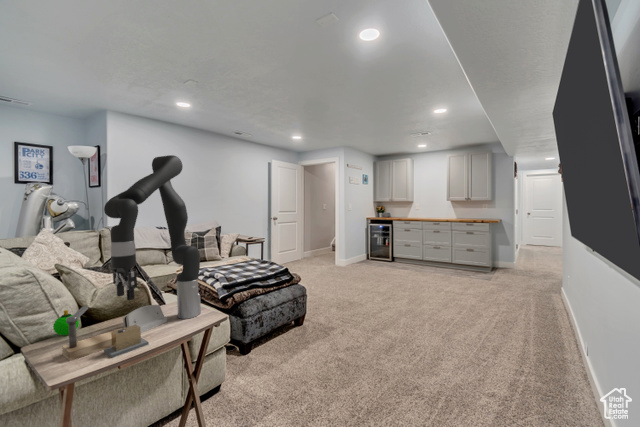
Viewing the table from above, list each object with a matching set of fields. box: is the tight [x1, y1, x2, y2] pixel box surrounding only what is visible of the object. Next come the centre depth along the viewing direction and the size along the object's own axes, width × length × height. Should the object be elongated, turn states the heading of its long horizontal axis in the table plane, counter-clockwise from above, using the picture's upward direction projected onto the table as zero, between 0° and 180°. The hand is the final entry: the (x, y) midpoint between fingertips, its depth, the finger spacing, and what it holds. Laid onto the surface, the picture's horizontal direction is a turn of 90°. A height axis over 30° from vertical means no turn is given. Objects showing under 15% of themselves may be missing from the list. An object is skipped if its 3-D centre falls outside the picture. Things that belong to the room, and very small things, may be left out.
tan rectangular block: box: [111, 325, 142, 352], centre depth 109 cm, size 8×4×6 cm, turn 144°
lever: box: [66, 305, 89, 324], centre depth 109 cm, size 16×3×2 cm, turn 23°
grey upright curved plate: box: [122, 304, 168, 334], centre depth 128 cm, size 17×5×10 cm, turn 158°
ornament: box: [52, 309, 80, 336], centre depth 121 cm, size 8×8×10 cm
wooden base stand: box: [62, 322, 124, 362], centre depth 110 cm, size 19×8×12 cm, turn 144°
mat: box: [103, 337, 149, 359], centre depth 109 cm, size 12×7×1 cm, turn 144°
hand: (125, 297), depth 108 cm, fingers open, 8 cm apart
